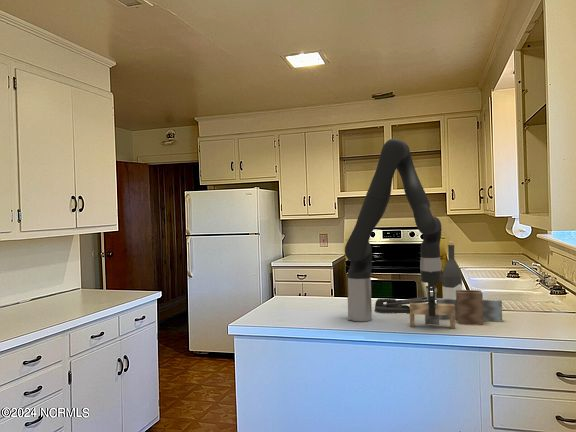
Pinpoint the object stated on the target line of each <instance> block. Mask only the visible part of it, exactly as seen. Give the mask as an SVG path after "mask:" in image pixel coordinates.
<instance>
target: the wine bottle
mask: <svg viewBox="0 0 576 432" xmlns="http://www.w3.org/2000/svg"><path fill="white" fill-rule="evenodd" d="M447 248H448V249H447V250H448V251H447V252H448V259H447V261H446V263H445V265H444V267H443V270H442V273H441V278H442V281H441V282H442V285H441V286H442V299H456V290H463V275H462V271H461V269H460V265H458V263H457V261H456V259H455V243H454V241H450V240H449V241H448V244H447Z"/></svg>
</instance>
